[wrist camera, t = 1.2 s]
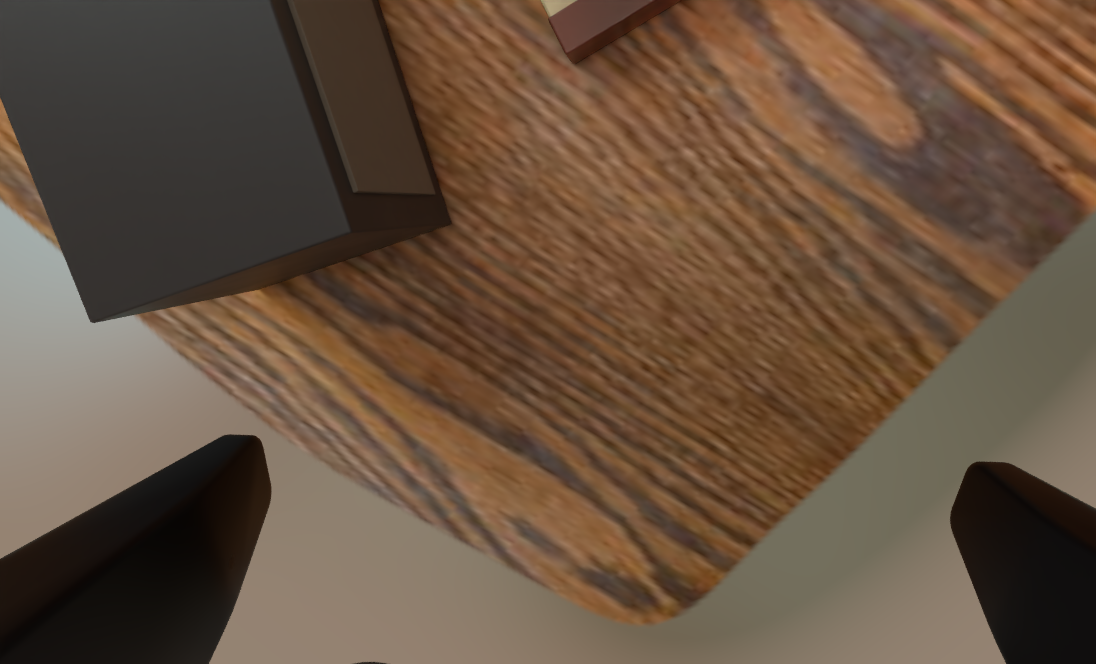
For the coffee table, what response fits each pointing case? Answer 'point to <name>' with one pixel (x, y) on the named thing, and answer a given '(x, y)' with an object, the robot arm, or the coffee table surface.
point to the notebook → (597, 21)
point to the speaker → (212, 141)
